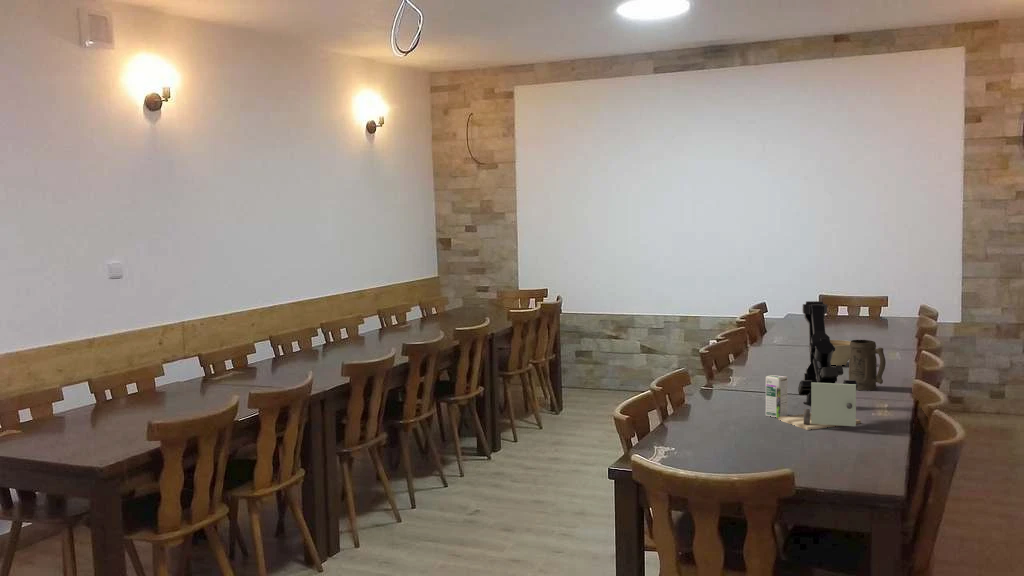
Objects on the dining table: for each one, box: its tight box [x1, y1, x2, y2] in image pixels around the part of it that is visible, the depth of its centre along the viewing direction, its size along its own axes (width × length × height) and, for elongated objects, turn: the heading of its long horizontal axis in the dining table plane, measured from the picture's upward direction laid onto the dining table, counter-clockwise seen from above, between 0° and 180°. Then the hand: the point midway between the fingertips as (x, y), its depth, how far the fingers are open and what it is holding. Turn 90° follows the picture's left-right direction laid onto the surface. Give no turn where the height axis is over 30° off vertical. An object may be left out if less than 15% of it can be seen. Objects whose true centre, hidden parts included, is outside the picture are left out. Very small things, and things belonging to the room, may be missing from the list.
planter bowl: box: [830, 339, 852, 367], centre depth 397 cm, size 16×16×11 cm
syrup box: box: [765, 374, 788, 419], centre depth 301 cm, size 6×6×14 cm
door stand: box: [777, 408, 862, 431], centre depth 291 cm, size 16×22×6 cm
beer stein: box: [848, 339, 886, 392], centre depth 341 cm, size 15×11×20 cm
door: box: [810, 382, 857, 427], centre depth 280 cm, size 3×14×14 cm, turn 67°
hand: (832, 408), depth 282 cm, fingers closed
